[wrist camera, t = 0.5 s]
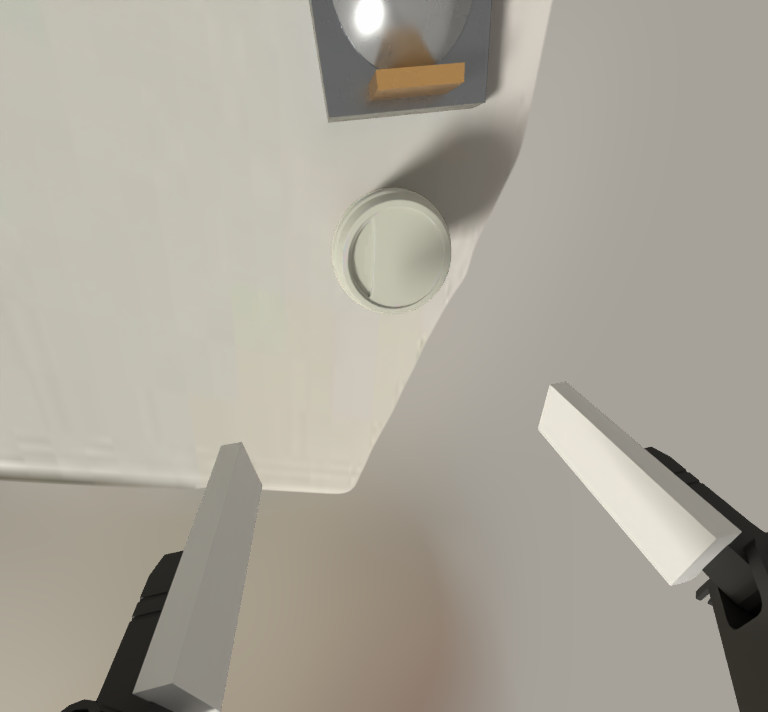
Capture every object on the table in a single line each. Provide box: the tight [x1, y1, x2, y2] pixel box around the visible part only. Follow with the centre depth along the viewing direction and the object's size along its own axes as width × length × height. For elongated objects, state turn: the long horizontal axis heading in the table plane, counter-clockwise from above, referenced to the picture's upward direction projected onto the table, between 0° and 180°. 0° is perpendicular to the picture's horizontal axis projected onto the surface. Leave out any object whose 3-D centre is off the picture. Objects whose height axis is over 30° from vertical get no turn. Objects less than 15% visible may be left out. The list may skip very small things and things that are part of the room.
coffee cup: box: [332, 187, 451, 314], centre depth 25 cm, size 8×9×12 cm
